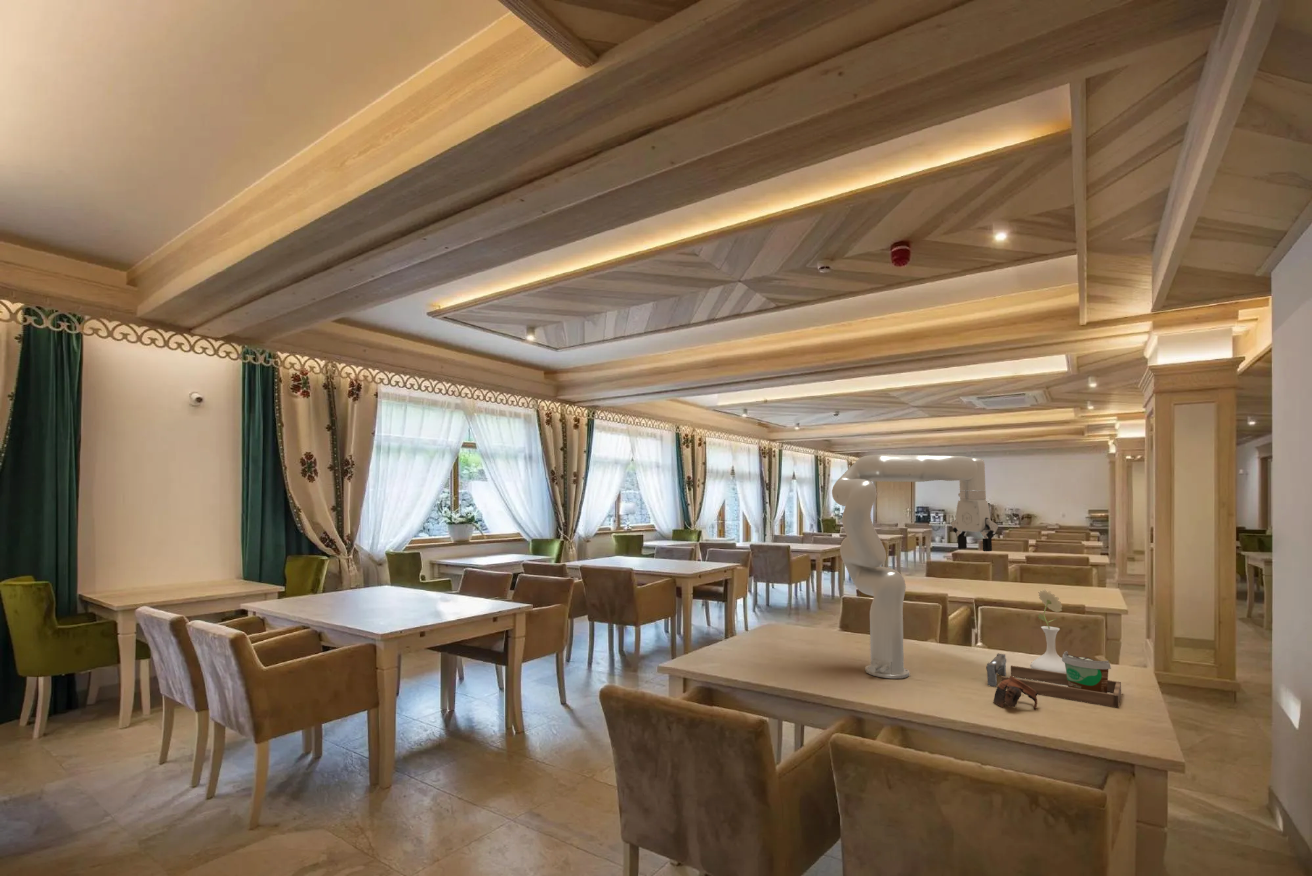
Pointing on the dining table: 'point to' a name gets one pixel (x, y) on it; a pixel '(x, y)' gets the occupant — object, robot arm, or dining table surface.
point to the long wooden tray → (1065, 691)
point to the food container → (1086, 673)
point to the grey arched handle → (996, 669)
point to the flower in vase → (1049, 637)
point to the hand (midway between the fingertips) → (974, 549)
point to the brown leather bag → (1013, 692)
